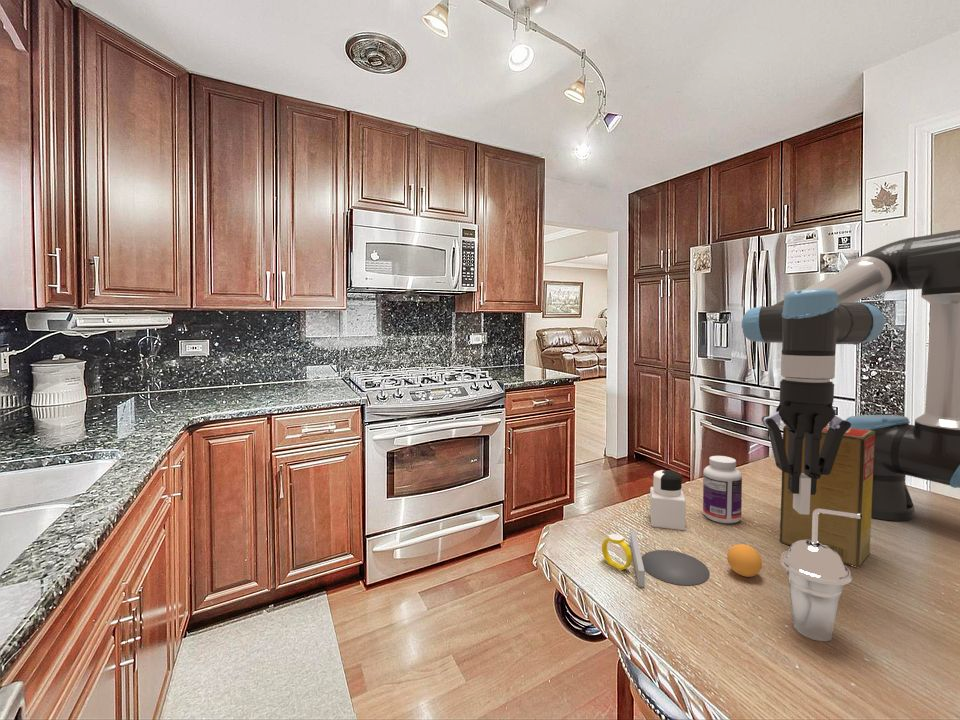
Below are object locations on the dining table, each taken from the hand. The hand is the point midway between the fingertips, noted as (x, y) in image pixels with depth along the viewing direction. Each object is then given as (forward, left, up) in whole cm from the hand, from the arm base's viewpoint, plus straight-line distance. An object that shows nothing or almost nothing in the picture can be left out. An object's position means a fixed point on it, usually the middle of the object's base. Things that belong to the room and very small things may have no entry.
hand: (800, 511), depth 77 cm
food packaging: (-10, -14, -13) cm, 22 cm away
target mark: (+21, 0, -13) cm, 24 cm away
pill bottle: (+6, -25, -13) cm, 29 cm away
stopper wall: (+28, 0, -13) cm, 30 cm away
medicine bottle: (+19, -20, -13) cm, 31 cm away
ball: (+9, 0, -10) cm, 13 cm away
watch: (+31, +2, -13) cm, 34 cm away
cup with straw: (+4, +14, -13) cm, 20 cm away
